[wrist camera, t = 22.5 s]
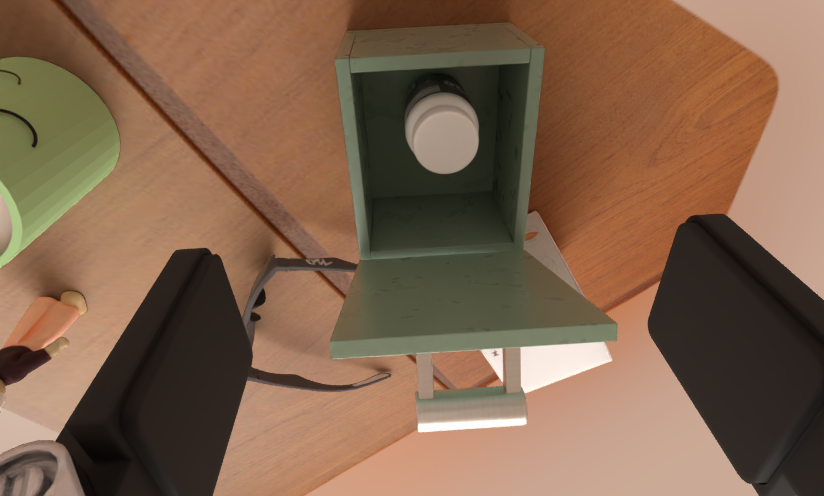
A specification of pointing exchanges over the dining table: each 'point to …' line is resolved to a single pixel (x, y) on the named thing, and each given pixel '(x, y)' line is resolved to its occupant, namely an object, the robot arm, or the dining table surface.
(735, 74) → the dining table surface
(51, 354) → the grandmother figurine
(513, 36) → the green storage bin
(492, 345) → the bin lid
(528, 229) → the small box
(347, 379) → the dining table surface
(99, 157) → the mug
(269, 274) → the sunglasses
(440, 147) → the pill bottle
